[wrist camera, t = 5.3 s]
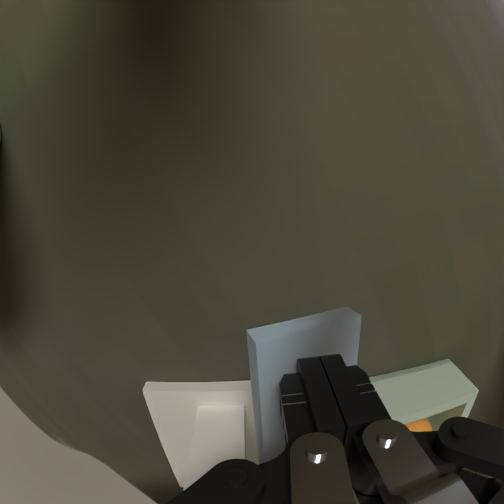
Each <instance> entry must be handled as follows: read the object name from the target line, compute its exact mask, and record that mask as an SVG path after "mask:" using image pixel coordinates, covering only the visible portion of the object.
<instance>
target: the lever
mask: <svg viewBox="0 0 504 504" xmlns="http://www.w3.org/2000/svg"><path fill="white" fill-rule="evenodd" d="M360 327H361V315H359V314H358V313H356V312H355V311H353V310H351V309H350V308H348V307H347V306H345V307H341V308H338V309H334V310H330V311H326V312H322V313H318V314H314V315H310V316H306V317H302V318H298V319H293V320H289V321H285V322H280V323H276V324H271V325H267V326H262V327H258V328H253V329H248V330H246V331H247V343H248V354H249V366H250V377H251V388H252V399H253V409H254V420H255V431H256V441H257V451H258V461H259V464H261V463H264V462H267V461H270V460H272V459H274V458H276V457H278V456H279V455H280V454H281V453H282V452H283V451H284V450H285V447H284V440H283V433H282V426H281V419H280V395H279V383H280V381H281V379H282V377H283V375H284V374H291V373H297V359H299V358H308V357H317V356H318V357H319V356H324V355H332V354H341V356H342V358H343V360H344V362H345V364H346V366H352V365H357V357H358V348H359V338H360Z"/></svg>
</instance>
